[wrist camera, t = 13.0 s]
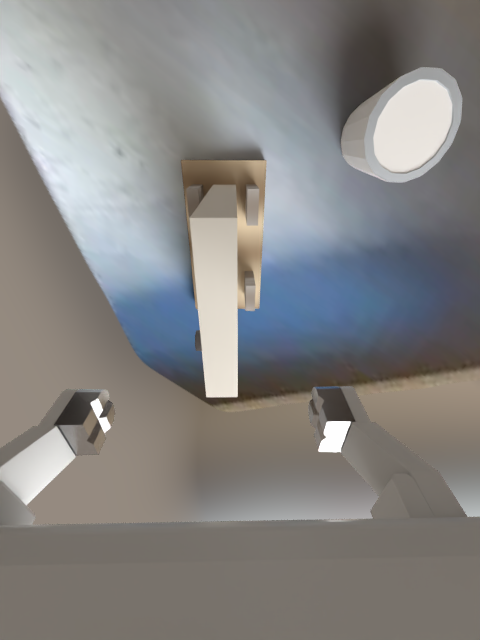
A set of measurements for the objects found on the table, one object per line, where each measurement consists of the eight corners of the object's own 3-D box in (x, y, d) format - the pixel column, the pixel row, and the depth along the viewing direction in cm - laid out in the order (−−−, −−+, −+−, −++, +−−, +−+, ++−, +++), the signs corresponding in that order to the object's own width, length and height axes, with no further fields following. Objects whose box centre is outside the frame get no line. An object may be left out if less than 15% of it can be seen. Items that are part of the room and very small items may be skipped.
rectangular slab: (203, 184, 25) (167, 217, 12) (235, 184, 26) (237, 217, 12) (210, 294, 32) (192, 397, 18) (236, 294, 32) (237, 396, 18)
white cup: (415, 150, 26) (469, 148, 20) (347, 191, 27) (378, 200, 21) (398, 68, 22) (457, 37, 16) (323, 121, 24) (351, 110, 18)
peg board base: (183, 159, 26) (172, 161, 21) (264, 160, 26) (271, 161, 21) (197, 303, 34) (191, 326, 30) (258, 302, 34) (261, 325, 30)
